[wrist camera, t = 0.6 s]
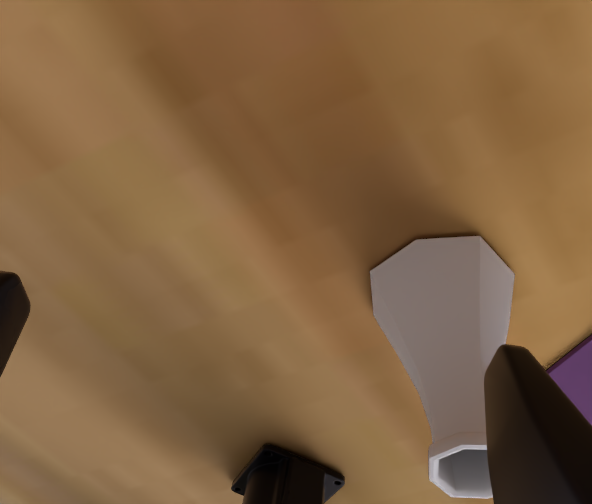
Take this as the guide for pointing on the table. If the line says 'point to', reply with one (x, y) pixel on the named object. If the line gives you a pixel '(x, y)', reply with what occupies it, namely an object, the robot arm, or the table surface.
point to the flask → (448, 345)
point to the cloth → (576, 376)
